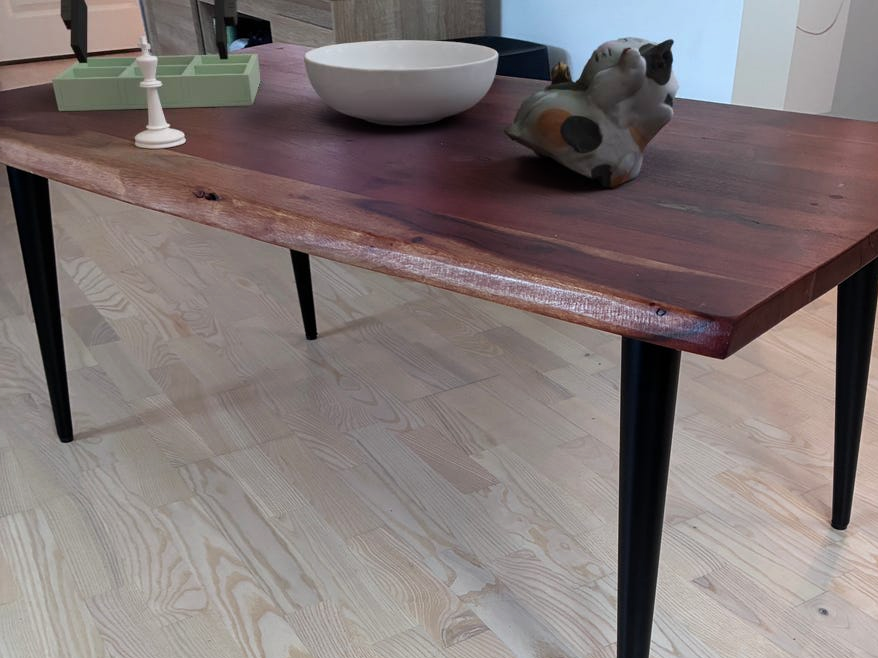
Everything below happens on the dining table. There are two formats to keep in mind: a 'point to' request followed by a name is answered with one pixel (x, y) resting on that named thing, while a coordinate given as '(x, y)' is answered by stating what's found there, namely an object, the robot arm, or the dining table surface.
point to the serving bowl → (401, 79)
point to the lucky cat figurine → (602, 110)
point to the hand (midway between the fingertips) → (151, 53)
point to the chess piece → (154, 106)
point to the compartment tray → (181, 79)
